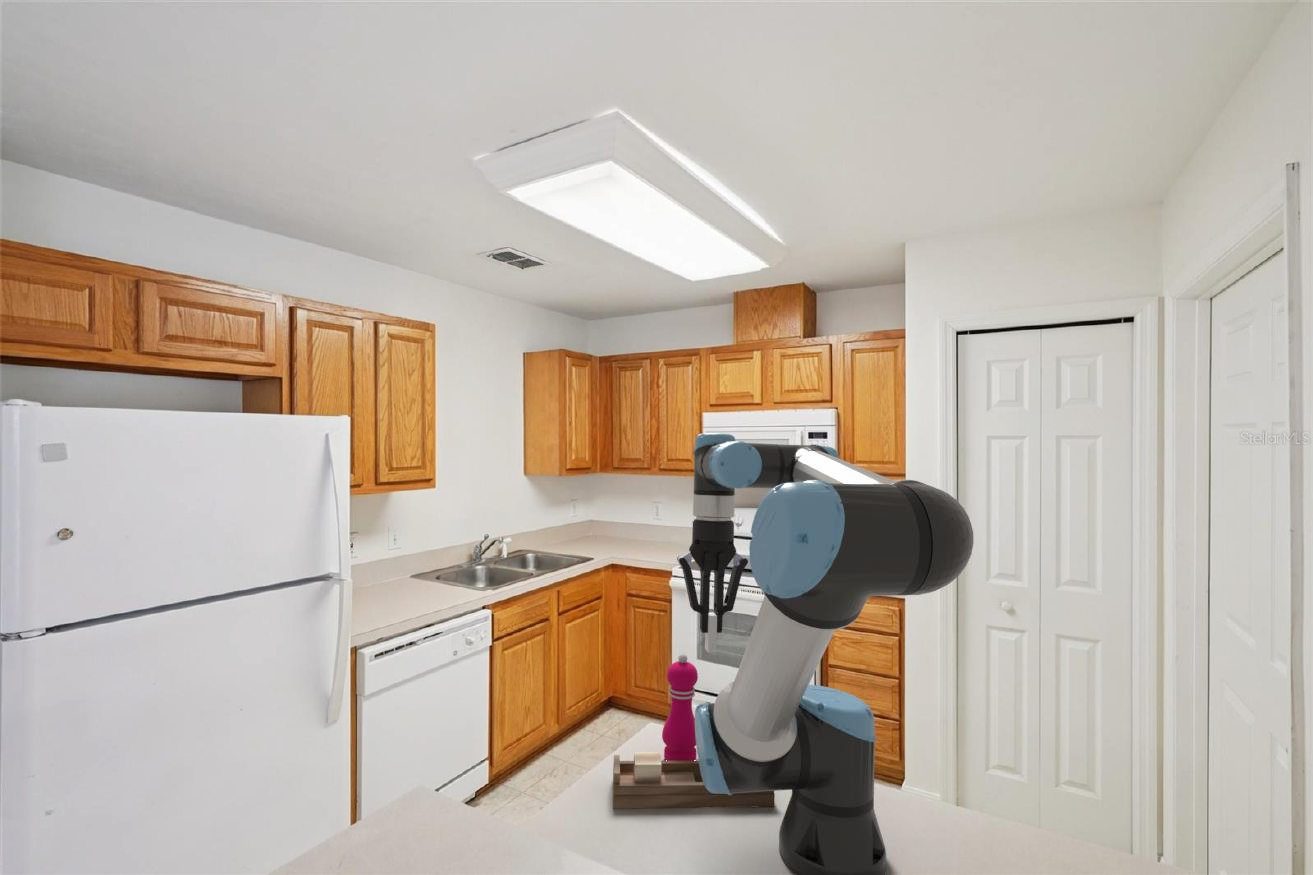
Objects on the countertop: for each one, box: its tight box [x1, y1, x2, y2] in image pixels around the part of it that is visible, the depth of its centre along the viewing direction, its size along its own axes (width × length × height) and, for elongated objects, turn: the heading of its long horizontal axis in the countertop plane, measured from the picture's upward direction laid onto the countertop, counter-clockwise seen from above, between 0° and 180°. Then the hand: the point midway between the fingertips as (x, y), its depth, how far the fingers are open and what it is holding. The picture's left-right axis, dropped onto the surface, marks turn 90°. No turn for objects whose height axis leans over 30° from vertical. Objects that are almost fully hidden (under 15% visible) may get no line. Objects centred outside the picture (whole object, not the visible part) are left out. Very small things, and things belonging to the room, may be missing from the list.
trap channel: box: [612, 754, 776, 809], centre depth 106 cm, size 9×27×5 cm, turn 94°
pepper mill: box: [661, 653, 699, 761], centre depth 119 cm, size 7×7×20 cm
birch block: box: [633, 751, 662, 783], centre depth 105 cm, size 4×4×4 cm
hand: (710, 650), depth 109 cm, fingers closed
